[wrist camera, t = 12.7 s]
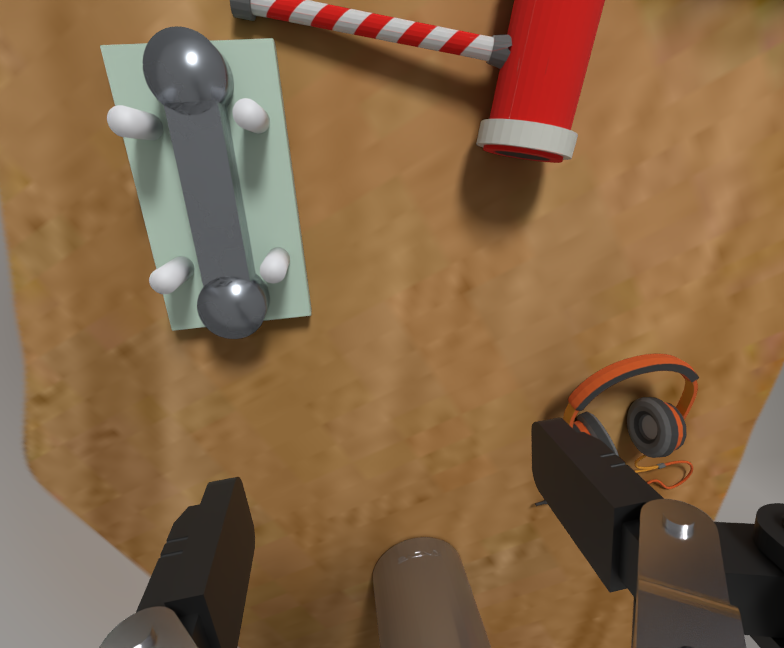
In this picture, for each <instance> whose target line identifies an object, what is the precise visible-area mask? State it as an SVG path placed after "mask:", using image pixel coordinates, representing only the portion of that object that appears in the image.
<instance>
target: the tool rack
mask: <svg viewBox="0 0 784 648" xmlns="http://www.w3.org/2000/svg"><path fill="white" fill-rule="evenodd" d="M210 42H211V43H212V44H213V45H214V46H215V47H216V48H217V49H218V50H219V52H220V53H221V54H222V55H223V56H224V57H225V59H226V60H227V62H228V64H229V66H230V68H231V71H232V74H233V78H234V92H233V96H232V99H231V101H230V103H229V105H228V107H227V111H228V117H229V122H230V128H231V134H232V140H233V145H234V151H235V157H236V163H237V168H238V174H239V180H240V186H241V191H242V197H243V203H244V209H245V214H246V220H247V226H248V231H249V237H250V243H251V249H252V254H253V260H254V266H255V272H256V274H257V275H258V276H259V277H260V278H261V279H262V280H263V281H264V282H265V284H266V286H267V288H268V290H269V295H270V303H269V307H268V310H267V312H266V315H265V318H264V320H274V319H283V318H292V317H301V316H310V315H311V302H310V295H309V287H308V280H307V273H306V265H305V258H304V251H303V243H302V236H301V229H300V221H299V214H298V207H297V199H296V192H295V185H294V177H293V170H292V162H291V155H290V148H289V140H288V133H287V126H286V118H285V111H284V104H283V96H282V89H281V82H280V74H279V67H278V60H277V52H276V45H275V42H274V40H273V38H268V39H244V40H219V41H210ZM147 44H148V43H147ZM147 44H123V45H100V47H101V51H102V55H103V59H104V63H105V67H106V71H107V75H108V79H109V83H110V87H111V91H112V95H113V99H114V103H115V106H114V107H113V108H111V109H110V110H109V112H108V115H107V121H108V125H109V127H110V128H111V130H112V131H113V132H114V133H115V134H117V135H119V136H121V137H123V138H124V142H125V146H126V150H127V154H128V158H129V162H130V166H131V170H132V174H133V178H134V182H135V186H136V190H137V194H138V198H139V202H140V205H141V209H142V213H143V217H144V221H145V225H146V229H147V233H148V237H149V241H150V245H151V249H152V253H153V257H154V261H155V265H156V269H157V270H155V271H154V272H152V274H151V275H150V278H149V282H150V285H151V287H152V288H153V289H154V290H155V291H156V292H158V293H160V294H163V296H164V300H165V304H166V308H167V312H168V316H169V320H170V324H171V328H172V330H182V329H191V328H200V327H205V325H204V324H203V323H202V321H201V320H200V317H199V315H198V311H197V300H198V296H199V294H200V292H201V290H202V289H203V283H202V279H201V274H200V269H199V265H198V260H197V256H196V251H195V246H194V242H193V237H192V233H191V228H190V223H189V219H188V214H187V210H186V205H185V201H184V196H183V191H182V187H181V182H180V178H179V173H178V168H177V164H176V159H175V155H174V150H173V145H172V141H171V136H170V132H169V127H168V122H167V118H166V113H165V109H164V105H163V104H162V103H161V102H159V101H158V100H157V98H156V97H155V96H154V95H153V93H152V92H151V91H150V89H149V87H148V85H147V83H146V80H145V77H144V73H143V63H142V62H143V54H144V50H145V48H146V45H147ZM264 320H263V321H264Z"/></svg>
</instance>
